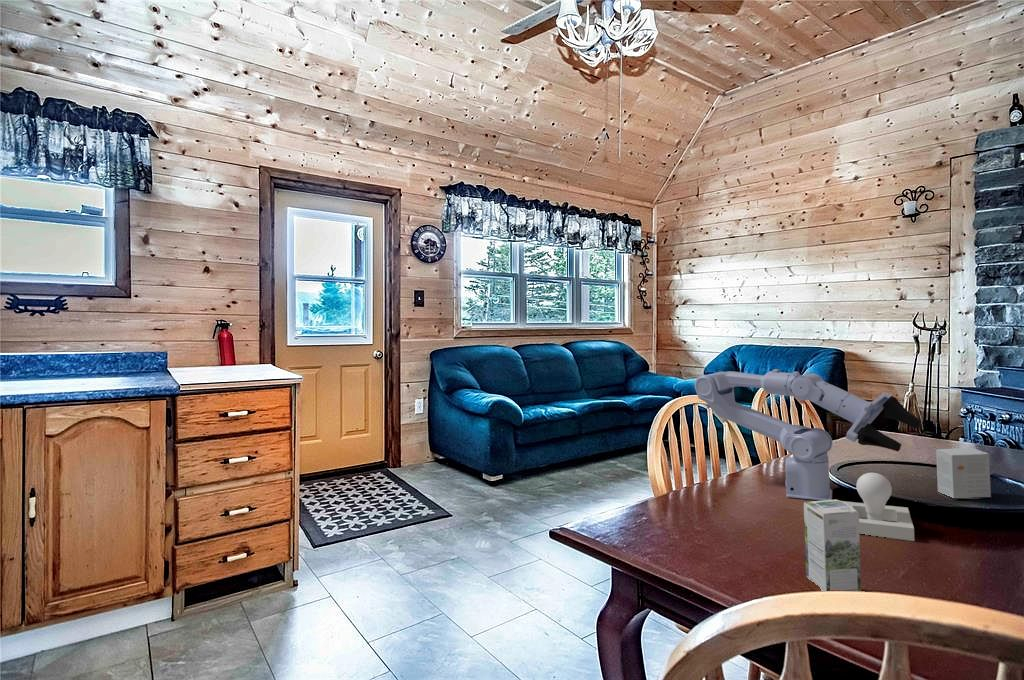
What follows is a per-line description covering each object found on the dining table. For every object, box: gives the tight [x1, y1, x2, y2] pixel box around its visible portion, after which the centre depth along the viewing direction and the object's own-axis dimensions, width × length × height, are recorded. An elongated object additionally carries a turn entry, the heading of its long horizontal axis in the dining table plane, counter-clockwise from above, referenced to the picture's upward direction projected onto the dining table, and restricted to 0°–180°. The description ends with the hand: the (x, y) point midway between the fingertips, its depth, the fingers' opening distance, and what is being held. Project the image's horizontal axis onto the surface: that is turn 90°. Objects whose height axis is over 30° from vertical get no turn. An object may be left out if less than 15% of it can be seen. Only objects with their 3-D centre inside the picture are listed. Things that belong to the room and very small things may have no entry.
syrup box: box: [803, 499, 862, 592], centre depth 89 cm, size 6×6×14 cm
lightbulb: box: [855, 472, 893, 521], centre depth 113 cm, size 6×6×11 cm
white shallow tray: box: [841, 500, 915, 542], centre depth 113 cm, size 12×12×2 cm
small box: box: [935, 447, 992, 498], centre depth 126 cm, size 8×6×10 cm
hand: (909, 436), depth 116 cm, fingers open, 7 cm apart
